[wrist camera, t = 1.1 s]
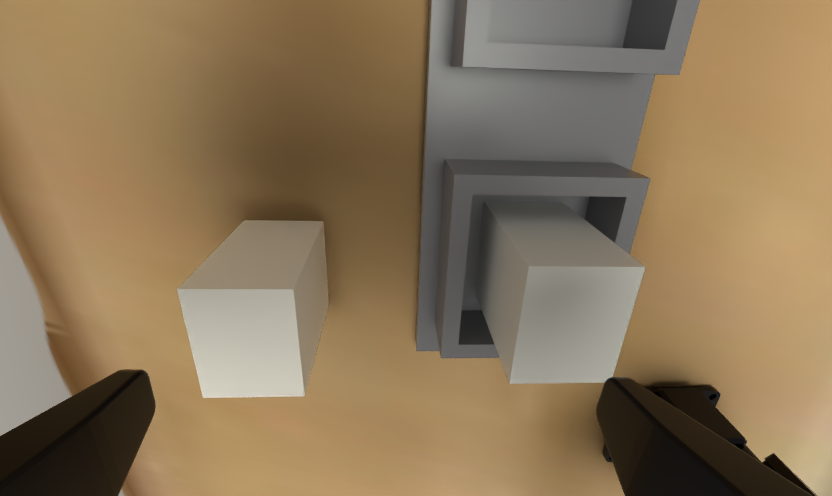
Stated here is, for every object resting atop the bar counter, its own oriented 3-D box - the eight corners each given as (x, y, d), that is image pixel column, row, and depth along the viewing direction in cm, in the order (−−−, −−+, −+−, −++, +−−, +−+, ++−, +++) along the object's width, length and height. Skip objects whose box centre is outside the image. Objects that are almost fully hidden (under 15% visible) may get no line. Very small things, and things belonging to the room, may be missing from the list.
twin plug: (546, 291, 22) (611, 382, 16) (474, 290, 22) (509, 383, 15) (563, 203, 20) (645, 267, 13) (484, 201, 20) (528, 266, 13)
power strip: (578, 339, 25) (610, 386, 21) (415, 340, 24) (419, 389, 20) (725, -269, 14) (842, -387, 10) (442, -297, 13) (460, -433, 10)
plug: (328, 304, 23) (304, 396, 16) (256, 304, 22) (202, 397, 16) (323, 221, 21) (293, 289, 14) (244, 220, 20) (177, 289, 14)
